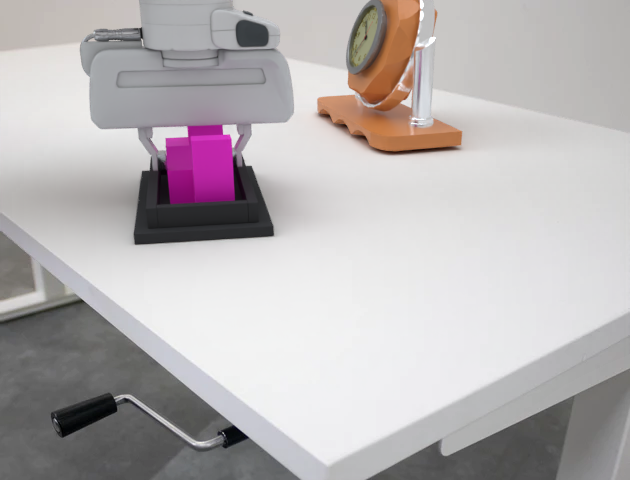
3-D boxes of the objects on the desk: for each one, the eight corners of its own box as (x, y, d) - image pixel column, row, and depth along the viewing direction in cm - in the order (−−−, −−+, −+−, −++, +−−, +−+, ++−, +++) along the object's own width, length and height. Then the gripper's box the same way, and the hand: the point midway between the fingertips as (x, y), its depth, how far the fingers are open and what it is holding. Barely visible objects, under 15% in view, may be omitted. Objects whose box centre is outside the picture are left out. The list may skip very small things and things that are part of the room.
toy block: (169, 177, 87) (162, 110, 83) (223, 174, 88) (219, 108, 84) (171, 219, 73) (164, 142, 70) (235, 215, 74) (231, 139, 71)
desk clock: (380, 107, 128) (385, -23, 119) (464, 148, 102) (477, -14, 93) (311, 112, 124) (310, -22, 116) (380, 156, 99) (385, -12, 90)
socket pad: (134, 244, 70) (131, 213, 69) (142, 178, 90) (140, 153, 88) (273, 235, 72) (272, 205, 71) (252, 173, 92) (251, 148, 90)
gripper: (73, 32, 69) (92, 181, 75) (295, 28, 72) (297, 171, 78) (80, 25, 74) (98, 164, 80) (286, 22, 77) (289, 156, 83)
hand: (198, 167), depth 79 cm, fingers closed on toy block, 6 cm apart
